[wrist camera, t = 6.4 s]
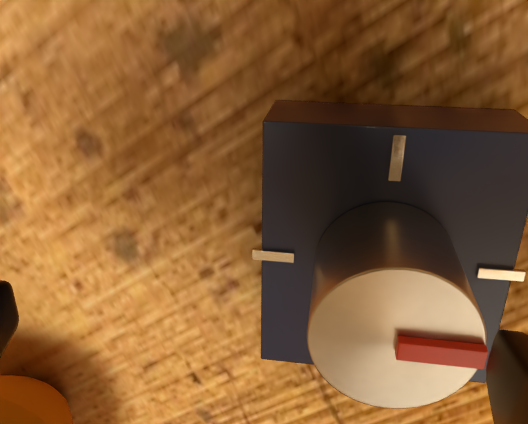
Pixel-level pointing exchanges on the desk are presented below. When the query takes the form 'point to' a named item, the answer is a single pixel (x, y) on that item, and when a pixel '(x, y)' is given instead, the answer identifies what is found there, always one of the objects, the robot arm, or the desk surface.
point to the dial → (393, 309)
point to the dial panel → (387, 197)
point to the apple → (31, 402)
